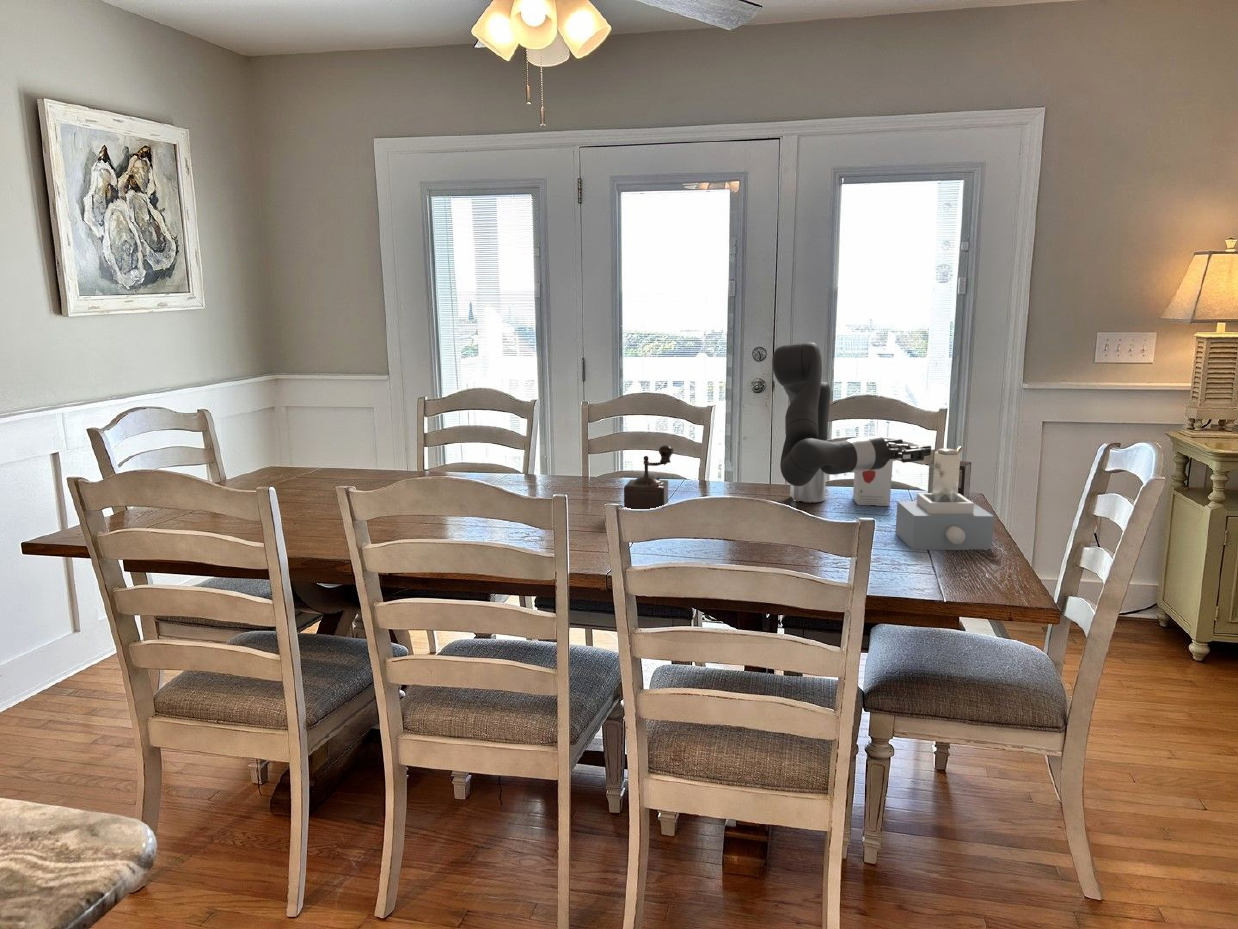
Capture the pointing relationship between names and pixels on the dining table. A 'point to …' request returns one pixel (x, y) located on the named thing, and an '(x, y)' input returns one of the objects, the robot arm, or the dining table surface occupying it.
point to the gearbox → (943, 524)
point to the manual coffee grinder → (648, 486)
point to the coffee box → (963, 478)
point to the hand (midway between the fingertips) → (915, 446)
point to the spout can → (946, 475)
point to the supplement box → (873, 486)
